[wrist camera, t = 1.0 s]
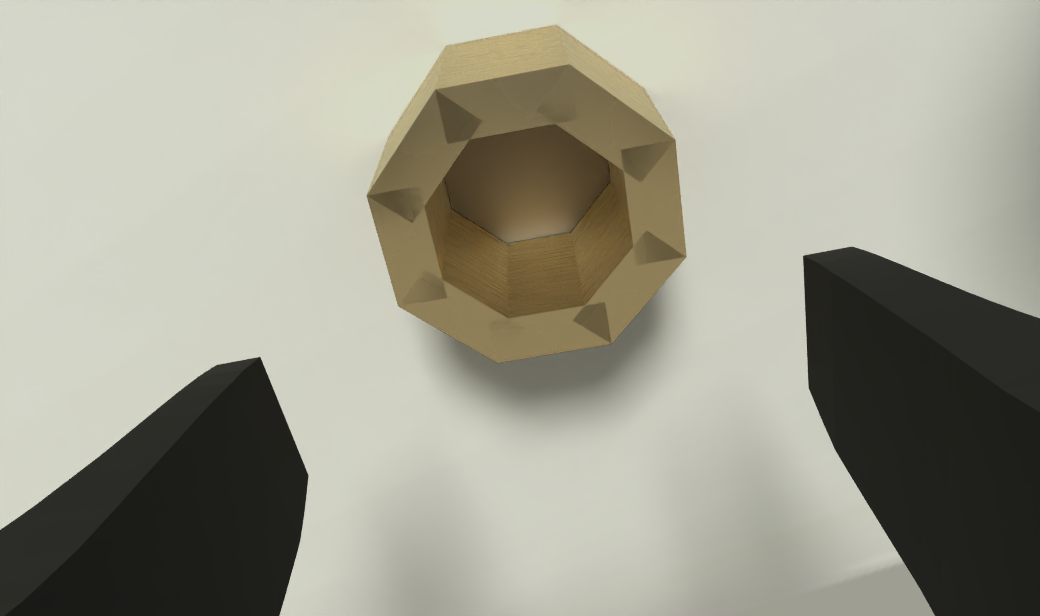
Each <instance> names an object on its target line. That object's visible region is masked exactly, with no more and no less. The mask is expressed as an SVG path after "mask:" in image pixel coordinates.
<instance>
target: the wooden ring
mask: <svg viewBox="0 0 1040 616" xmlns="http://www.w3.org/2000/svg"><path fill="white" fill-rule="evenodd" d="M552 124H556V125H557V126H559V127H560V128H562V129H563V130H565V131H566V132H568V133H569V134H571V135H572V136H574V137H575V138H576V139H578V140H579V141H581V142H582V143H584V144H585V145H587V146H588V147H590V148H591V149H593V150H594V151H595V152H597V153H598V154H600V155H601V156H603V157H604V158H606V159H607V160H608V163H609V170H610V177H611V182H610V183H609V184H608V186H607V187H606V188H605V189H604V191H603V192H602V193H601V195H600V196H599V197H598V198H597V200H596V201H595V202H594V204H593V205H592V206H591V207H590V209H589V210H588V211H587V213H586V214H585V215H584V216H583V218H582V219H581V220H580V222H579V223H578V224H577V225H576V227H575V228H574V229H573V231H572V232H571V233H565V234H559V235H554V236H548V237H542V238H536V239H531V240H525V241H519V242H514V243H508V244H506V243H505V242H503V241H501V240H500V239H498V238H496V237H495V236H493V235H492V234H490V233H488V232H487V231H485V230H484V229H482V228H480V227H479V226H477V225H476V224H474V223H472V222H471V221H469V220H468V219H466V218H464V217H463V216H461V215H459V214H458V213H456V212H455V211H453V210H451V205H450V201H449V197H448V193H447V188H446V184H445V180H444V177H445V175H446V174H447V172H448V171H449V169H450V168H451V166H452V165H453V163H454V162H455V160H456V159H457V157H458V156H459V155H460V153H461V152H462V150H463V149H464V147H465V146H466V144H467V143H468V141H469V140H470V139H476V138H481V137H487V136H492V135H497V134H503V133H508V132H514V131H519V130H525V129H530V128H535V127H541V126H546V125H552ZM367 198H368V202H369V205H370V209H371V212H372V216H373V219H374V223H375V226H376V230H377V233H378V237H379V240H380V244H381V247H382V251H383V254H384V258H385V261H386V265H387V268H388V272H389V276H390V279H391V283H392V286H393V290H394V293H395V297H396V300H397V304H398V306H399V307H400V308H402V309H404V310H406V311H407V312H409V313H411V314H413V315H414V316H416V317H418V318H420V319H421V320H423V321H425V322H427V323H428V324H430V325H432V326H434V327H435V328H437V329H439V330H441V331H442V332H444V333H446V334H448V335H449V336H451V337H453V338H455V339H456V340H458V341H460V342H462V343H463V344H465V345H467V346H469V347H470V348H472V349H474V350H476V351H477V352H479V353H481V354H483V355H484V356H486V357H488V358H490V359H491V360H493V361H495V362H497V363H500V362H506V361H512V360H518V359H524V358H530V357H536V356H542V355H548V354H555V353H561V352H567V351H573V350H579V349H585V348H591V347H597V346H603V345H609V344H612V343H613V342H614V341H615V339H616V338H617V337H618V336H619V335H620V334H621V332H622V331H623V330H624V329H625V328H626V327H627V325H628V324H629V323H630V322H631V321H632V320H633V318H634V317H635V316H636V315H637V314H638V313H639V312H640V310H641V309H642V308H643V307H644V306H645V305H646V303H647V302H648V301H649V300H650V299H651V298H652V296H653V295H654V294H655V293H656V292H657V291H658V289H659V288H660V287H661V286H662V285H663V284H664V282H665V281H666V280H667V279H668V278H669V277H670V275H671V274H672V273H673V272H674V271H675V270H676V268H677V267H678V266H679V265H680V264H681V263H682V261H683V260H684V259H685V258H686V248H685V237H684V227H683V216H682V206H681V195H680V185H679V174H678V164H677V153H676V143H675V139H674V137H673V135H672V134H671V132H670V130H669V129H668V127H667V125H666V124H665V122H664V120H663V119H662V117H661V115H660V114H659V112H658V110H657V109H656V107H655V105H654V104H653V102H652V100H651V99H650V97H649V96H648V94H647V92H646V91H645V89H644V88H642V87H641V86H640V85H638V84H637V83H636V82H634V81H633V80H631V79H630V78H629V77H627V76H626V75H625V74H623V73H622V72H620V71H619V70H618V69H616V68H615V67H614V66H612V65H611V64H609V63H608V62H607V61H605V60H604V59H603V58H601V57H600V56H598V55H597V54H596V53H594V52H593V51H592V50H590V49H589V48H587V47H586V46H585V45H583V44H582V43H581V42H579V41H578V40H576V39H575V38H574V37H572V36H571V35H570V34H568V33H567V32H565V31H564V30H563V29H561V28H560V27H559V26H557V25H554V26H549V27H544V28H539V29H533V30H528V31H523V32H518V33H513V34H507V35H502V36H497V37H492V38H486V39H481V40H476V41H471V42H466V43H460V44H455V45H450V46H446V47H445V49H444V50H443V52H442V53H441V55H440V57H439V58H438V60H437V61H436V63H435V64H434V66H433V68H432V69H431V71H430V72H429V74H428V75H427V77H426V79H425V80H424V82H423V83H422V85H421V87H420V88H419V90H418V91H417V93H416V94H415V96H414V98H413V99H412V101H411V102H410V104H409V105H408V107H407V109H406V110H405V112H404V113H403V115H402V116H401V118H400V120H399V121H398V123H397V124H396V126H395V128H394V129H393V131H392V132H391V134H390V135H389V137H388V140H387V143H386V145H385V148H384V151H383V153H382V156H381V159H380V161H379V164H378V167H377V169H376V172H375V175H374V177H373V180H372V183H371V185H370V188H369V191H368V193H367Z"/></svg>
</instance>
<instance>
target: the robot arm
mask: <svg viewBox="0 0 1040 616" xmlns="http://www.w3.org/2000/svg"><path fill="white" fill-rule="evenodd" d="M803 263H804V287H805V311H806V334H807V358H808V382H809V390H810V392H811V394H812V397H813V399H814V402H815V404H816V407H817V409H818V411H819V414H820V416H821V419H822V421H823V423H824V426H825V428H826V430H827V432H828V435H829V437H830V439H831V441H832V444H833V446H834V448H835V450H836V452H837V454H838V455H839V457H840V459H841V460H842V462H843V464H844V465H845V467H846V469H847V470H848V472H849V474H850V475H851V477H852V479H853V480H854V482H855V484H856V485H857V487H858V489H859V490H860V492H861V493H862V495H863V497H864V498H865V500H866V502H867V503H868V505H869V507H870V508H871V510H872V511H873V513H874V515H875V516H876V518H877V520H878V521H879V523H880V524H881V526H882V528H883V529H884V531H885V532H886V534H887V536H888V537H889V539H890V541H891V542H892V544H893V545H894V547H895V549H896V550H897V552H898V554H899V555H900V557H901V558H902V560H903V562H904V563H905V565H906V567H907V568H908V570H909V571H910V573H911V575H912V576H913V578H914V579H915V581H916V583H917V584H918V586H919V588H920V589H921V591H922V593H923V595H924V596H925V598H926V600H927V602H928V603H929V605H930V607H931V609H932V611H933V613H934V614H935V616H1040V319H1039V318H1037V317H1034V316H1031V315H1028V314H1025V313H1022V312H1019V311H1016V310H1013V309H1011V308H1008V307H1005V306H1003V305H1000V304H997V303H995V302H992V301H989V300H987V299H984V298H981V297H979V296H976V295H974V294H971V293H969V292H966V291H964V290H961V289H959V288H956V287H954V286H951V285H949V284H946V283H944V282H942V281H939V280H937V279H934V278H932V277H929V276H927V275H925V274H922V273H920V272H917V271H915V270H913V269H910V268H908V267H905V266H903V265H901V264H898V263H896V262H893V261H891V260H888V259H886V258H883V257H881V256H878V255H876V254H873V253H870V252H867V251H865V250H861V249H858V248H855V247H847V248H842V249H837V250H831V251H826V252H821V253H815V254H810V255H805V256H803ZM307 484H308V473H307V471H306V468H305V466H304V463H303V461H302V459H301V456H300V454H299V451H298V449H297V446H296V444H295V441H294V439H293V436H292V434H291V432H290V429H289V427H288V424H287V422H286V419H285V417H284V414H283V412H282V409H281V407H280V404H279V402H278V400H277V397H276V395H275V392H274V390H273V387H272V385H271V382H270V380H269V377H268V375H267V373H266V370H265V368H264V365H263V363H262V360H261V358H260V357H258V358H252V359H247V360H242V361H236V362H231V363H226V364H220V365H216V366H215V367H213V368H211V369H210V370H208V371H206V372H205V373H203V374H202V375H201V376H199V377H198V378H196V379H195V380H194V381H192V382H191V383H190V384H188V385H187V386H186V387H184V388H183V389H182V390H181V391H179V392H178V393H177V394H176V395H174V396H173V397H172V398H171V399H169V400H168V401H167V402H166V403H164V404H163V405H162V406H161V407H159V408H158V409H157V410H156V411H155V412H153V413H152V414H151V415H150V416H148V417H147V418H146V419H145V420H144V421H142V422H141V423H140V424H139V425H137V426H136V427H135V428H134V429H133V430H131V431H130V432H129V433H128V434H126V435H125V436H124V437H123V438H122V439H120V440H119V441H118V442H117V443H115V444H114V445H113V446H112V447H111V448H109V449H108V450H107V451H106V452H104V453H103V454H102V455H101V456H99V457H98V458H97V459H95V460H94V461H93V462H92V463H90V464H89V465H88V466H86V467H85V468H84V469H82V470H81V471H80V472H78V473H77V474H76V475H75V476H73V477H72V478H71V479H69V480H68V481H67V482H65V483H64V484H63V485H61V486H60V487H59V488H58V489H56V490H55V491H54V492H52V493H51V494H50V495H48V496H47V497H46V498H44V499H43V500H42V501H41V502H39V503H38V504H37V505H35V506H34V507H32V508H31V509H30V510H28V511H27V512H25V513H24V514H23V515H21V516H20V517H18V518H17V519H16V520H14V521H13V522H11V523H10V524H8V525H7V526H5V527H4V528H3V529H1V530H0V616H279V615H280V612H281V608H282V605H283V601H284V598H285V594H286V591H287V587H288V584H289V580H290V576H291V573H292V569H293V566H294V562H295V558H296V555H297V551H298V547H299V543H300V538H301V531H302V525H303V518H304V511H305V502H306V493H307Z"/></svg>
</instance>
